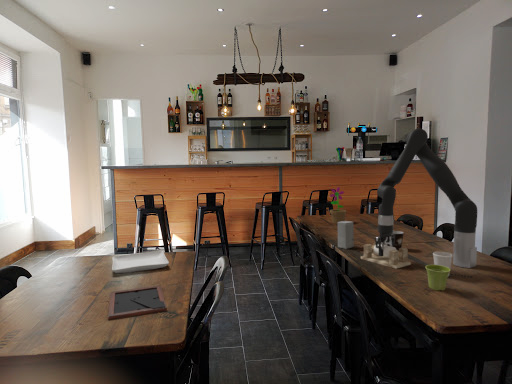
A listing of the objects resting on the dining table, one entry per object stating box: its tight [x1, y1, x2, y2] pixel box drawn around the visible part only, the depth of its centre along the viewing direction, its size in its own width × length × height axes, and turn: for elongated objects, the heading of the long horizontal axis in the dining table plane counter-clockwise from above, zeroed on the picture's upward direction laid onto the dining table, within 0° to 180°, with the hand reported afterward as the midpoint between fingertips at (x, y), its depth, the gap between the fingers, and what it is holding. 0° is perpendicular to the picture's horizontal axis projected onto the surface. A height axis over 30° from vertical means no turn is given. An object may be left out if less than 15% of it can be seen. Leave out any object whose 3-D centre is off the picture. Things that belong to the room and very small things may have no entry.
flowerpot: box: [329, 186, 348, 225], centre depth 301 cm, size 14×14×30 cm
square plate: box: [111, 250, 170, 274], centre depth 188 cm, size 27×27×4 cm
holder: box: [360, 242, 412, 269], centre depth 188 cm, size 22×12×8 cm, turn 33°
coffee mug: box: [391, 230, 404, 251], centre depth 213 cm, size 12×9×10 cm
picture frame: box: [107, 284, 168, 321], centre depth 139 cm, size 20×2×25 cm
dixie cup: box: [432, 251, 453, 277], centre depth 165 cm, size 8×8×10 cm
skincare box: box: [337, 220, 355, 250], centre depth 219 cm, size 8×7×16 cm
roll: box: [371, 244, 402, 258], centre depth 188 cm, size 19×6×6 cm, turn 33°
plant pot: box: [425, 264, 452, 291], centre depth 149 cm, size 9×9×9 cm
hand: (385, 254), depth 188 cm, fingers closed on roll, 6 cm apart
